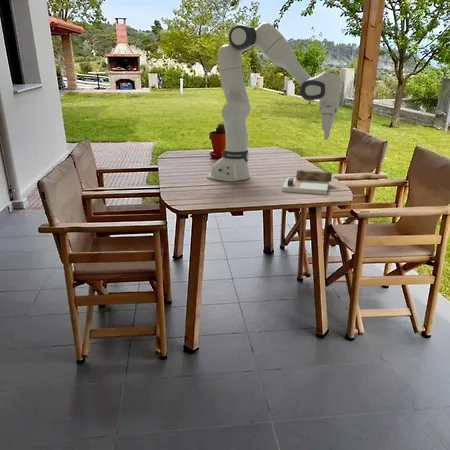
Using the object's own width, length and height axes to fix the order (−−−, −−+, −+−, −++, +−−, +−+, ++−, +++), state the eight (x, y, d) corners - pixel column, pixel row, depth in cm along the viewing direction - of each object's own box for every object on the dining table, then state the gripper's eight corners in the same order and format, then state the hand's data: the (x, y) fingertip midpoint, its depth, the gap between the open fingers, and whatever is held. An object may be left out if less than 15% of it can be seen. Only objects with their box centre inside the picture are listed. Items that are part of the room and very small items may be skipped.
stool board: (281, 191, 187) (282, 181, 185) (287, 181, 203) (288, 172, 201) (326, 194, 181) (327, 184, 180) (328, 184, 198) (329, 175, 196)
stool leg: (295, 179, 198) (296, 171, 196) (296, 177, 201) (297, 169, 199) (330, 181, 193) (331, 173, 192) (331, 180, 196) (331, 171, 195)
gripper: (323, 106, 199) (321, 134, 204) (320, 110, 181) (318, 141, 186) (336, 106, 198) (334, 135, 203) (335, 110, 179) (332, 141, 184)
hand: (326, 138), depth 194 cm, fingers open, 7 cm apart
